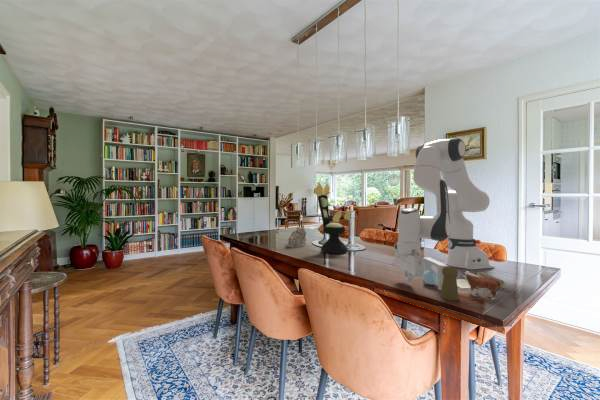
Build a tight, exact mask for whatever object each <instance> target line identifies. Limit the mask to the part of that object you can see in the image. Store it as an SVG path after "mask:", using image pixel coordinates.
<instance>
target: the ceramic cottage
mask: <svg viewBox="0 0 600 400" xmlns="http://www.w3.org/2000/svg"><path fill="white" fill-rule="evenodd" d="M301 225H302V226H301V227H299V226H298V227H296V230H292V232H291V234H290V235H289V237H288V239H287V240H288V242H287V245H286V247H287V248H292V249H293V248H294V249H295V248H302V247H303V248H304V247H307V245H308V243H307V237H306V234H307V232H306V230H305V227H304V226H305V225H304V224H301Z"/></svg>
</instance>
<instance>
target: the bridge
mask: <svg viewBox="0 0 600 400" xmlns="http://www.w3.org/2000/svg"><path fill="white" fill-rule="evenodd" d="M422 258H423V265H424V272H425V271H427V270H432V267H433V266H434V267H437V275H438V282H437V290H438V291H441V290H442V284H443V278H444V275H443V273H442V269H443V268H444V267H449V265H447V264H445V263H443V262H441V261H438V260H437V259H434V258H432V257H430V256H426V257H424V256H422Z"/></svg>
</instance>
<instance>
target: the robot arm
mask: <svg viewBox="0 0 600 400" xmlns="http://www.w3.org/2000/svg"><path fill="white" fill-rule="evenodd" d="M465 144H466V143H465V142H464V140H462V138H458V137H451V138H443V139H442V138H441V139H437V140H433V141H430V142H424V143H421V144H419V145H418V147H416V150H415V158H416V160H415V163H414V169H413V174H412V175H413V176H412V178H413V181H414V184H415V185H416V186H417V187H418V188H420V189H422V190H423V191H426V192H428V193H431V194H433V195H434V196H435V201H436V215H434V216H431V215H430V216H429V215H421V213H420V210H419V209H417V208H413V207H409V208H403V209H401V210H400V211H399V215H398V220H397V232H398V238H397V242H396V243H394V245H393V249H395V250H394V258H395V264H396V265H397V266H398V267H400V268H401V269H403V272H404V280H405V281H406V282H408V283H412V282H413V277H423V274H424V265H423V256H421V239H424V240H425V239H426V240H431V241H437V242H443V241H445V240H448V241H447V248H448V251H447V256H446V261H445V262H444V264H445V265H448V267H453V268H459V269H460V268H461V269H466V270H467V269H468V270H482V269H483V270H484V269H494V268H495V265H494V263H493V264H492V263H491V262H490V260H489V256H488V254H487V253H486V252H485V251H483V250H482V249H481V248H479V247H478V245H480V244H481V243H482V242H481V240H480V239H474V224H473V223H472V221H471V220H469V219H468V218H466V217H465V216H464V213H465V212H467V213H478V212H479V213H480V212H485V211H486V210H487V209H488V207H489V206H490V203H491V202H490V197H489V195H488V194H487V192H485V191H484V190H483V191H482V190H481V189H480V188H478V187H477V186H476V184H474V183H473V182H472V181H471V179H470V178H469V174H468V171H467V167H466V164H465V160H464V156H465V155H466V145H465ZM441 175H442V177H441ZM448 188H450V190H448ZM451 189H452V190H451Z"/></svg>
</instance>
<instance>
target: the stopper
mask: <svg viewBox="0 0 600 400" xmlns="http://www.w3.org/2000/svg"><path fill="white" fill-rule="evenodd" d="M476 275H477V276H480V277H483V278H488V279H493V280H497V281H499V283H500V288H499V290H501V289H505V280H503V279H501V278H497V277H495V276H492V275H490V274H488V273H486V272H482V271H476ZM498 287H499V286H498Z"/></svg>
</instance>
